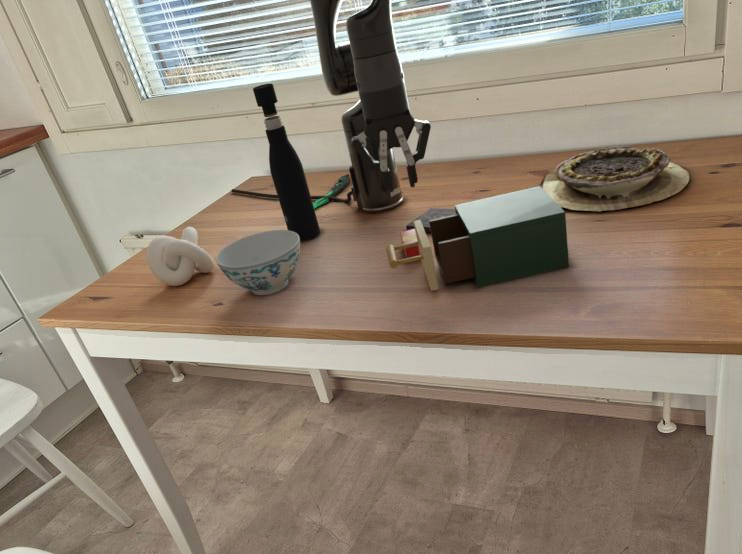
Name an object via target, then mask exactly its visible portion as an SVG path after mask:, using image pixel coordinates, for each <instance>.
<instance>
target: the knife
mask: <svg viewBox="0 0 742 554" xmlns="http://www.w3.org/2000/svg"><path fill="white" fill-rule="evenodd" d="M337 180H338V183H337V182H336V183H335V184H334V186H333V187H332V188H331V189H330V191H329V192H328V193H326V194H325V195H324V196H332V197H335V196H336V195H338V194H339V193H341V192H343V191H344V189H345V188H347V187H348V186H349V184H350V183H351V178H350V173H348V174H344V175H341V177H339V178H338V179H337ZM330 201H331V200H330V199H329V197H324V198H320V199H316V200H315V201H313V202H312V203H313V206H314V210H315V209H316V208H318V207H319V206H322V205H325V204H326V203H329V202H330Z"/></svg>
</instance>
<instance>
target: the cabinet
mask: <svg viewBox="0 0 742 554" xmlns="http://www.w3.org/2000/svg"><path fill="white" fill-rule="evenodd" d="M454 209H455V212H456V214H458V216H459V218H460V219H461V221H462V223H463V225H464V227H465V229H466V231H467V232H468V234H469V236H470V242H471V249H472V256H473V262H474V269H475V275H476V277H473V278H472V279H473V280H474V282H475V284H476V286H477V288H481V287H482V288H483V287H485V286H490V285H491V286H492V285H495V284H498V283H499V284H500V283H503V282H507V281H513V280H517V279H521V278H526V277H530V276H534V275H538V274H543V273H549V272H552V271H558V270H561V269H566V268H570V261H569V260H570V259H569V247H568V233H567V218H566V211H565V210H564V208H563V207H560V206H559V205H558V204H557V203H556V202H555V201H554V200H553V199H552V198H551V197H550V196H549V195H548V194H547V193H546V192H545V191H544V190H543V189H542V188H541V187H540V186H539V185H537V186H533V187H529V188H525V189H519V190H516V191H511V192H507V193H503V194H502V193H501V194H498V195H493V196H489V197H485V198H480V199H476V200H472V201H466V202H463V203H458V204H454Z"/></svg>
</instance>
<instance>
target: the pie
mask: <svg viewBox="0 0 742 554" xmlns="http://www.w3.org/2000/svg"><path fill="white" fill-rule="evenodd" d="M689 182H690V173H689V171H688V170H686V169H684V168H683V167H681V166H679V165H678V164H676V163H673V162H671V158H669V157H668V155H667V153H666V152H665V151H663V150H661V149H658V148H653V147H652V148H651V147H643V148H642V147H638V148H637V147H636V148H635V147H632V145H623V146H621V145H615V146H610V147H601V148H596V149H594V150H591V151H586V152H582V153H578V154H576V155H573V156H572V157H570V158H568V159H566V160H564V161H562V162H560V163H559V164H558V165H557V166H556V167H555V168H554V173H547V174H545V175H544V176H543V178H542V180H541V181H540V183H539V184H538V186H540V187H541V188H542V189H543V190H544V191H545V192H546V193H547V194H548V195H549V196H550V197H551V198H552V199H553V200H554V201H555V202H556V203H557V204H558V205H559V206H560V207H561V208H563V209H564V208H565V209H568V210H571V211H584V212H585V211H588V212H589V211H590V212H602V211H617V210H623V209H628V208H634V207H639V206H644V205H649V204H652V203H654V202H659V201H663V200H665V199H667V198H669V197H673V196H675V195H676V194H678V193H680V192H681V191H683V189H684V188H685V187H686V186H687V185H688V183H689Z"/></svg>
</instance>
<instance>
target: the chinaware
mask: <svg viewBox="0 0 742 554" xmlns="http://www.w3.org/2000/svg"><path fill="white" fill-rule="evenodd" d="M300 257H301V242H300V238H299V235H298V234H297V233H295V232H293V231H288V229H274V230H266V231H263V232H257V233H254V234H250V235H247V236H245V237H242V238H239V239H237V240H235V241H233V242H231V243H229V244H228V245H226V246H225V247H223V248H222V249H221V250H220V251H219V252H218V253H217V254H216V256H215V262H216V264H217V266H218V267H219V269H220V270H221V272H222V273H223V274H224V275H225V276H226V278H228V279H229V280H230V281H231V282H232V283H234V284H235V285H236V286H239V287H241V288H242V289H246V290H250V291H251V292H252V293H253V295H257V296H267V295H268V296H269V295H272V294H275V293H278V292H280V291H281V290H283V289H285V288H286V287H287V286H288V285H289V279H290V277H291V276H292V275H293V274H294V272H295V271H296V269H297V267H298V264H299V261H300Z"/></svg>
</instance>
